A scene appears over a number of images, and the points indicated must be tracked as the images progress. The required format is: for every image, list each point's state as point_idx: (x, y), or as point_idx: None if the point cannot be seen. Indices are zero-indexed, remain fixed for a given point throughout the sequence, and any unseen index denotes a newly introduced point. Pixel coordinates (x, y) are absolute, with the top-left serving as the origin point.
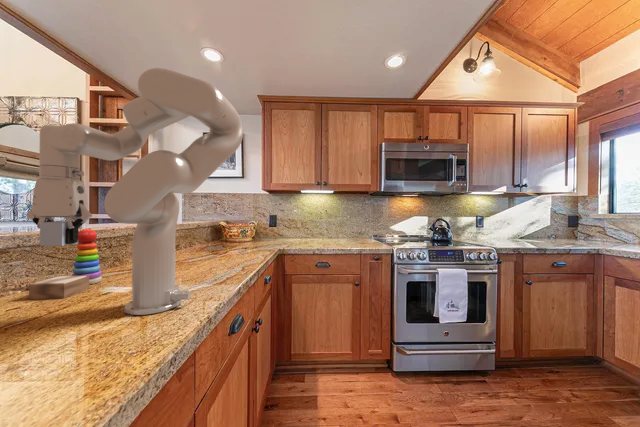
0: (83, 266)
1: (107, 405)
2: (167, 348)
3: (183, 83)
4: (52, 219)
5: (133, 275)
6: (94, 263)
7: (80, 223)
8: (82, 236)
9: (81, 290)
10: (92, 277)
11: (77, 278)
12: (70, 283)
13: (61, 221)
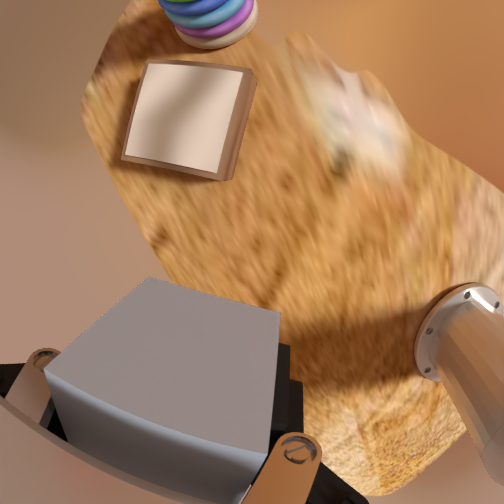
0: (201, 13)
1: (393, 490)
2: (439, 451)
3: None
4: (46, 426)
5: (456, 407)
6: None
7: (328, 496)
8: None
9: (248, 113)
10: (239, 26)
11: (229, 109)
12: (229, 154)
13: (81, 396)
